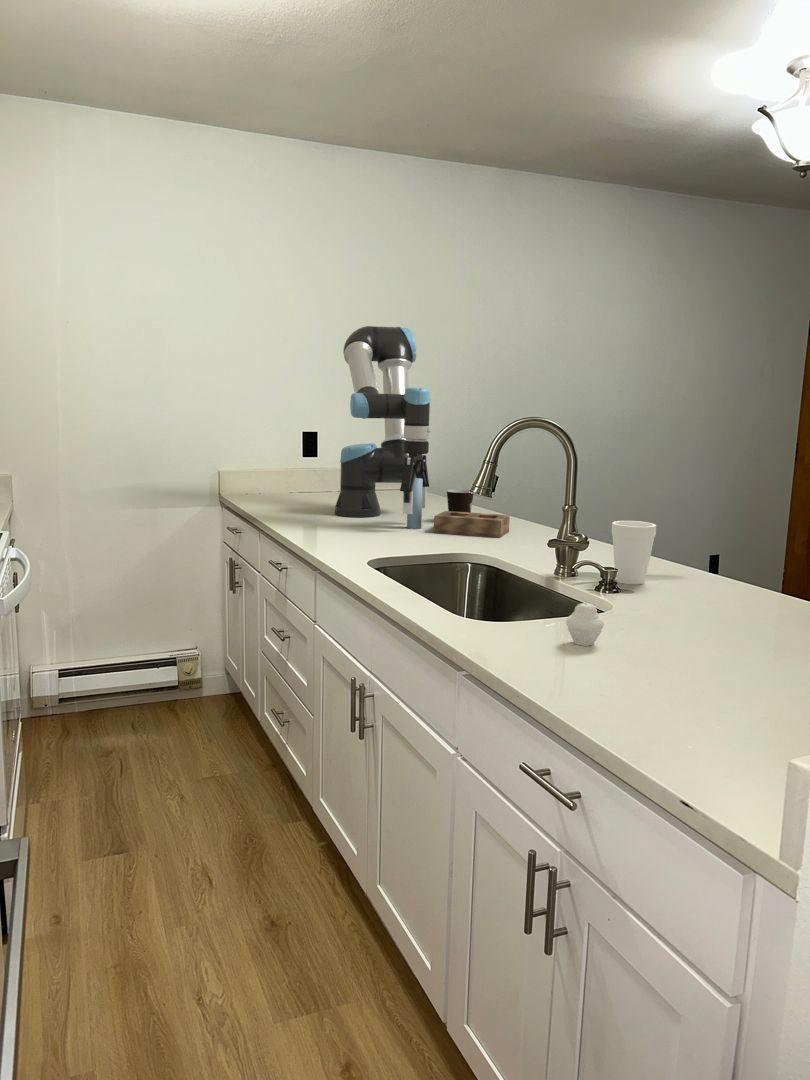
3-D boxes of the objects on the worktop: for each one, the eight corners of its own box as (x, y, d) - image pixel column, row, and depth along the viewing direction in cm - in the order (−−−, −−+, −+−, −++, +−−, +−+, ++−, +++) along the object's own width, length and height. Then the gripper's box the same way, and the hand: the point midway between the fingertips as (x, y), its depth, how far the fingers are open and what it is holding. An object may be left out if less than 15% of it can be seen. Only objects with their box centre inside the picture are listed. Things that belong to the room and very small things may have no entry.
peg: (404, 528, 256) (406, 478, 253) (409, 526, 260) (410, 477, 257) (418, 529, 254) (420, 479, 252) (423, 527, 259) (424, 478, 256)
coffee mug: (463, 525, 265) (464, 493, 263) (440, 522, 270) (441, 490, 268) (482, 521, 274) (484, 490, 272) (460, 518, 279) (461, 488, 277)
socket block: (433, 532, 249) (434, 515, 248) (444, 526, 260) (445, 510, 259) (500, 537, 243) (501, 520, 242) (508, 531, 254) (509, 515, 253)
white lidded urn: (597, 638, 145) (599, 598, 143) (607, 648, 138) (609, 607, 137) (561, 637, 144) (563, 597, 143) (569, 648, 138) (571, 606, 137)
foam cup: (600, 577, 192) (604, 521, 190) (634, 575, 196) (638, 520, 193) (625, 587, 184) (629, 527, 182) (660, 584, 187) (664, 526, 185)
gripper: (415, 442, 240) (413, 516, 243) (439, 438, 263) (438, 506, 267) (390, 441, 242) (389, 515, 246) (416, 437, 265) (415, 505, 269)
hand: (414, 510), depth 256 cm, fingers open, 13 cm apart
